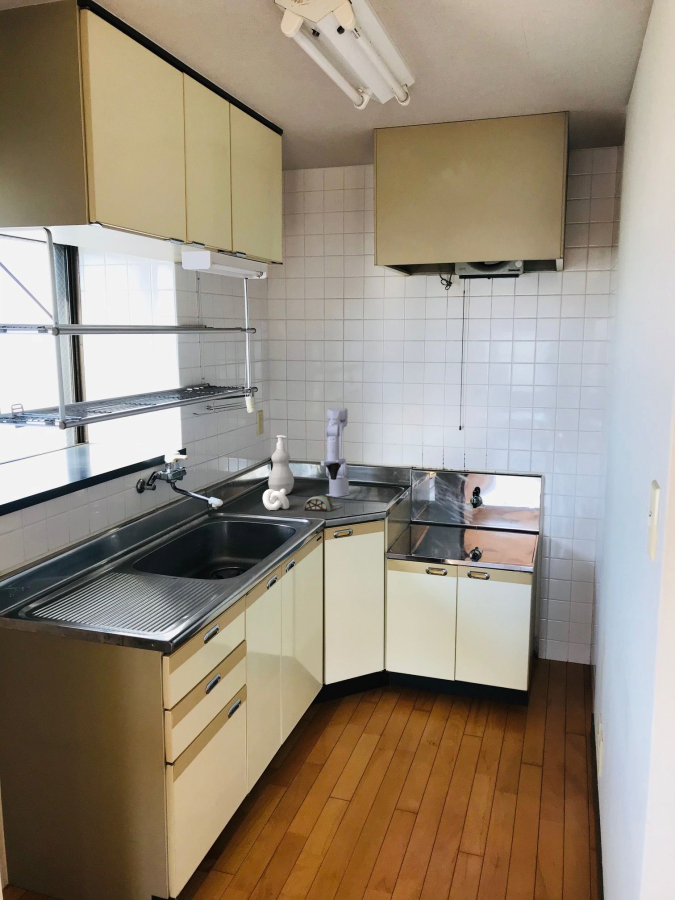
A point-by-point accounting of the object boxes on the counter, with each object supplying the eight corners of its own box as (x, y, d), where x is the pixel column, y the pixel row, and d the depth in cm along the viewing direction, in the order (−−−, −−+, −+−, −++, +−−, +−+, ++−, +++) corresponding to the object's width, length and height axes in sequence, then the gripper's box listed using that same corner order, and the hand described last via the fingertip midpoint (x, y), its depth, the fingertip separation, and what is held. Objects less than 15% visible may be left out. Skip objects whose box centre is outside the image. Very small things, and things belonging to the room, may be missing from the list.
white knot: (268, 506, 329) (267, 486, 328) (293, 506, 327) (293, 487, 325) (261, 511, 318) (260, 491, 317) (287, 511, 316) (287, 491, 314)
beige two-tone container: (335, 492, 322) (328, 497, 313) (335, 506, 323) (329, 511, 314) (309, 492, 326) (301, 497, 316) (310, 505, 327) (302, 510, 317)
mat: (317, 502, 334) (317, 502, 334) (342, 507, 323) (342, 506, 323) (302, 505, 328) (302, 505, 328) (327, 510, 317) (327, 510, 316)
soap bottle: (283, 497, 348) (282, 437, 344) (262, 496, 353) (261, 436, 349) (299, 491, 363) (298, 434, 359) (279, 490, 368) (278, 433, 364)
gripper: (328, 452, 327) (328, 482, 328) (350, 449, 337) (350, 478, 338) (317, 451, 332) (317, 480, 333) (339, 448, 342) (339, 477, 343)
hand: (333, 479), depth 336 cm, fingers closed
